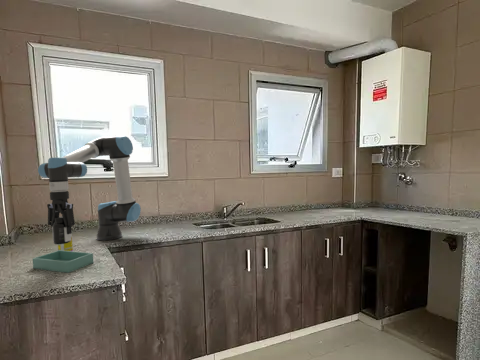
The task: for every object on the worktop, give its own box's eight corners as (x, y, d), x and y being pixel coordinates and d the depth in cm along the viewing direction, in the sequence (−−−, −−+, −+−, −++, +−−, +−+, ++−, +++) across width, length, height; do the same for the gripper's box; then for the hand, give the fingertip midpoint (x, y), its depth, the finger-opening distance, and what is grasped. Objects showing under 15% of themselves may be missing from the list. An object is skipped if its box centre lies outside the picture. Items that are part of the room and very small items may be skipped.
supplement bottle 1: (73, 240, 141) (72, 215, 141) (65, 244, 134) (63, 217, 134) (59, 241, 141) (57, 216, 141) (50, 244, 134) (48, 218, 134)
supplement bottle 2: (75, 251, 162) (74, 228, 161) (68, 255, 155) (67, 230, 154) (62, 252, 161) (61, 228, 161) (55, 255, 155) (54, 231, 154)
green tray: (60, 259, 148) (59, 250, 148) (93, 262, 141) (92, 253, 141) (33, 268, 136) (32, 258, 135) (68, 272, 128) (67, 262, 128)
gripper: (36, 191, 137) (39, 241, 138) (67, 191, 130) (70, 243, 131) (51, 190, 144) (54, 237, 145) (82, 190, 137) (85, 239, 138)
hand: (62, 240), depth 138 cm, fingers closed on supplement bottle 1, 7 cm apart
